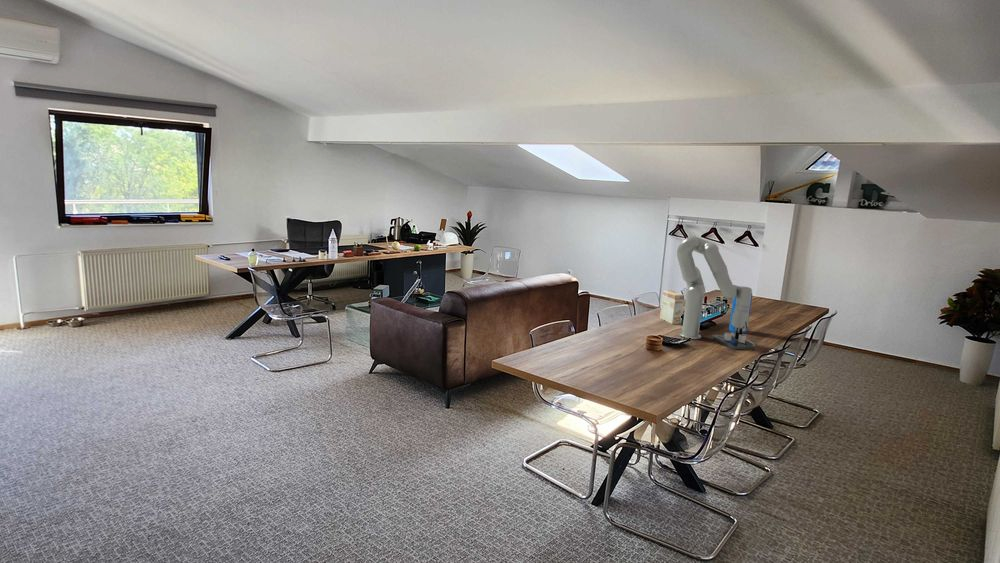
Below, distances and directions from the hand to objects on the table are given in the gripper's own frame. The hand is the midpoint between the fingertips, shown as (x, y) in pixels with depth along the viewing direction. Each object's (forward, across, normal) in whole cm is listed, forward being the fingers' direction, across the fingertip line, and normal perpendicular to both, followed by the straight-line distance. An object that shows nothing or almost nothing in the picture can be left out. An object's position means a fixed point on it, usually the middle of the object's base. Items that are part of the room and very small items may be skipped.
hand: (738, 338), depth 323 cm
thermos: (+3, -28, +18) cm, 34 cm away
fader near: (+1, 0, -7) cm, 7 cm away
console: (+3, -1, -3) cm, 4 cm away
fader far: (+1, +4, 0) cm, 4 cm away
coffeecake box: (+3, -50, -18) cm, 53 cm away
